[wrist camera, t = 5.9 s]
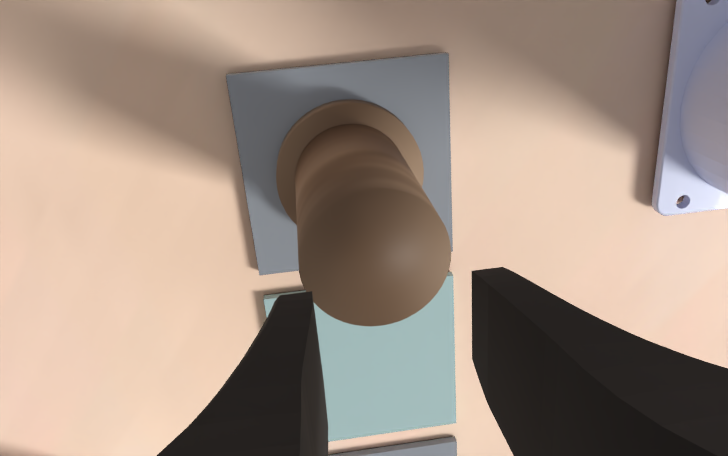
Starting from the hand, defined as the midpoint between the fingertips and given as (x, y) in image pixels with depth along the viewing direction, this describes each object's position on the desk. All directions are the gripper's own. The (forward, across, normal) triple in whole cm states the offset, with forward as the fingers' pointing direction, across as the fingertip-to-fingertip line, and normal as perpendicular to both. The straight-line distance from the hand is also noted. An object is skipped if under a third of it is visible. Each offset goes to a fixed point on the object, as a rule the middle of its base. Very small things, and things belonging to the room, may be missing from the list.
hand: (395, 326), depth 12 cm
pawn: (+10, 0, 0) cm, 10 cm away
